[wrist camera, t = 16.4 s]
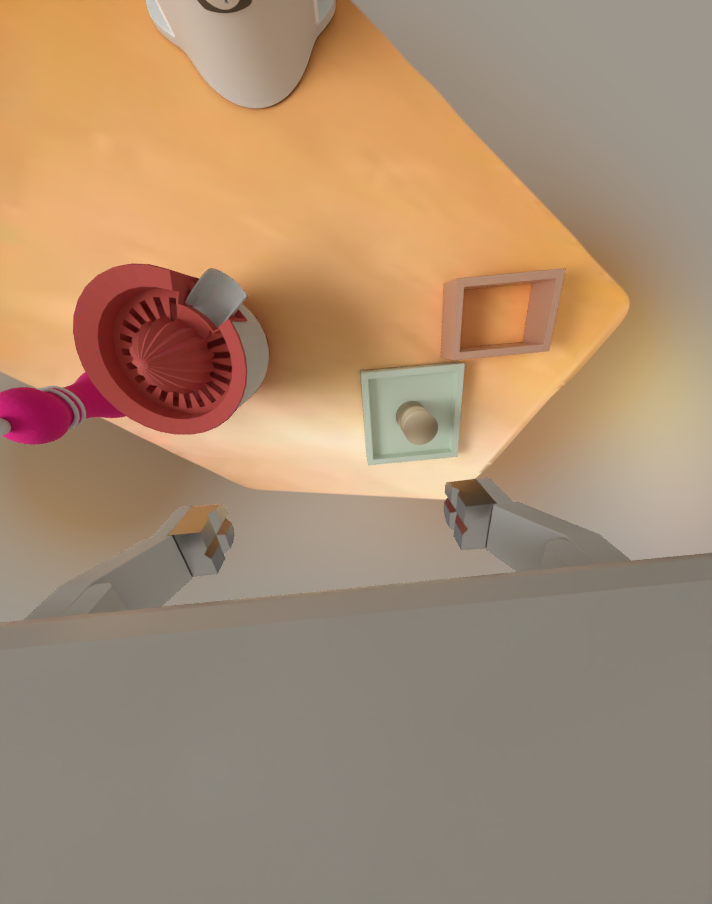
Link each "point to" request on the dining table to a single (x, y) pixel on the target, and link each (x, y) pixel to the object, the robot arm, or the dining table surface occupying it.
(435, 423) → the beech cylinder
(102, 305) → the citrus juicer
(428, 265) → the dining table surface
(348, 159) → the dining table surface
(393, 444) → the tray
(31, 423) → the pepper mill
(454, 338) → the open square frame
